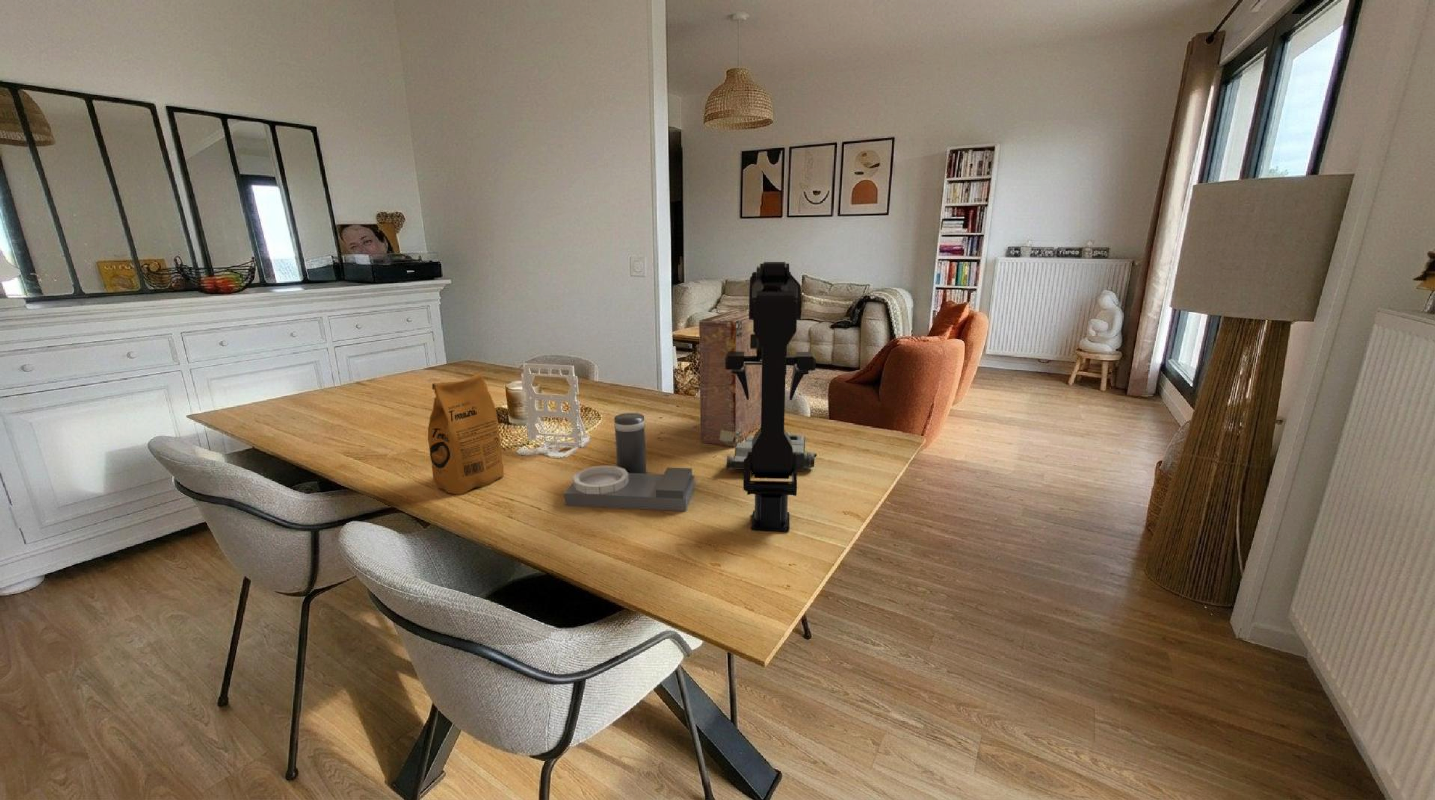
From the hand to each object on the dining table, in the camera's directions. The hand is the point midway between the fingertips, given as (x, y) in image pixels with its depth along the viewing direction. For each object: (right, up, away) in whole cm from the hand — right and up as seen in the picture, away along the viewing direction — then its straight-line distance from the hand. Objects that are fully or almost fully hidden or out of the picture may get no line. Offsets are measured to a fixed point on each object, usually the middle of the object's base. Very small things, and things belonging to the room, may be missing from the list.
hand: (769, 399), depth 123 cm
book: (-6, -8, +26) cm, 28 cm away
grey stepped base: (-28, -19, -13) cm, 36 cm away
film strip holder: (-51, -12, +14) cm, 54 cm away
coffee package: (-62, -17, -6) cm, 65 cm away
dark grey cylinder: (-29, -16, -3) cm, 33 cm away
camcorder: (+1, -14, +5) cm, 15 cm away
